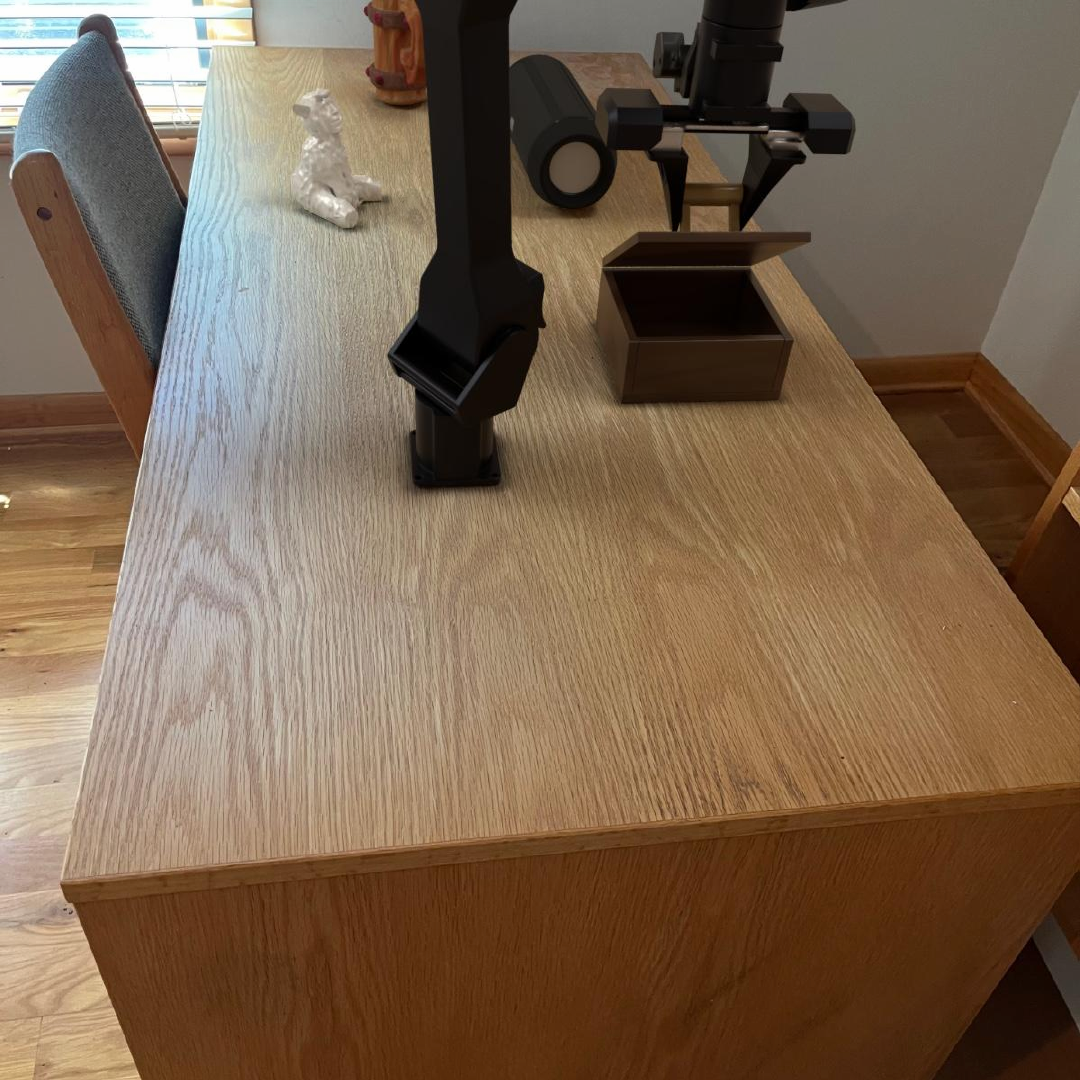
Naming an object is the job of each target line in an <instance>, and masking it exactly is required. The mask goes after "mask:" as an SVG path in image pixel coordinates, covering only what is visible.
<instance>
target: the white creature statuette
mask: <svg viewBox="0 0 1080 1080" xmlns="http://www.w3.org/2000/svg"><path fill="white" fill-rule="evenodd" d="M291 110H292V111H291V112H292V113H293V114H294V115H296V116H298V119H299V120H300V123H301V124H302V126H303V128H304V129H305V131H306V133H308V136H307V138H305V139H304V142H303V143H302V145H301V149H302V150H301V153H300V159H301V160H300V162H299V163H298V166H297V167H296V169H295V171H294V172H292V173H291V177H292V178H291V179H290V183H291V187H292V192H293V195H294V196H295V200H296V201H297V203H298V204H299V205H301V206H302V207H303V209H304V210H306V211H308V213H310V214H314V215H316V216H318V217H319V218H322V219H324V220H326V221H328V222H329V223H331V224H333V225H336V226H338V227H339V228H343V229H350V228H352V229H353V228H354V227H355V226H356V225H357V223H358V221H359V213H358V211H357V209H358V208H360V206H361V204H362V203H364V202H382V201H383V200H382V199H383V197H382V195H383V194H382V181H379V180H376V179H373V178H372V177H369V175H367V174H362V175H361V174H355V175H352V169H351V168H350V164H349V163H348V159H349V157H348V156H347V152H346V151H345V150H346V147H345V145H344V143H343V142H342V139H343V138H342V134H341V133H342V132H343V130H344V129H343V126H342V122H343V116H342V114H341V111H340V109H339V107H338V104H337V102H336V98H335V97H334V96H333V95H331V90H330V89H329V88H322V87H317V88H316V90H315V91H309V92H307V93H305V94H304V95H303V96H301V100H300V101H299V102H295V103H293V105H292V107H291Z"/></svg>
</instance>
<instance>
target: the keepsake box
mask: <svg viewBox="0 0 1080 1080" xmlns="http://www.w3.org/2000/svg"><path fill="white" fill-rule="evenodd" d="M595 328H596V331H597V334H598V338H599V340H600V343H601V346H602V349H603V353H604V355H605V359H606V361H607V362H606V363H607V364H608V368H609V371H610V374H611V377H612V379H613V383H614V385H615V389H616V392H617V395H618V398H619V401H620V403H621V404H640V403H641V404H645V403H683V402H684V403H686V402H688V403H689V402H725V401H726V402H728V401H764V400H765V401H768V400H769V401H770V400H773V401H774V400H779V399H780V396H781V391H782V388H783V384H784V380H785V376H786V372H787V368H788V364H789V360H790V357H791V352H792V348H793V344H794V341H795V339H794V337H793V335H792V334H791V332H790V330H789V328H788V327H787V326H786V324H785V322H784V320H783V319H782V317H781V315H780V314H779V312H778V310H777V309H776V308H775V306H774V304H773V302H772V300H771V299H770V298H769V296H768V294H767V292H766V291H765V289H764V287H763V285H762V284H761V282H760V281H759V279H758V277H757V275H756V274H755V273H754V271H753V269H752V266H729V267H601V271H600V279H599V289H598V299H597V308H596V318H595Z"/></svg>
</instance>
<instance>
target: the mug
mask: <svg viewBox="0 0 1080 1080" xmlns="http://www.w3.org/2000/svg"><path fill="white" fill-rule="evenodd" d="M363 13H364V15H365V16H366V17H367V18H368V20H369V22H370V23H371V24H372V35H373V51H374V52H373V53H374V57H373V58H374V62H372V63H371V64H370V65H369V66H367V68H366V69H365V74H366V76H367V77H368V78H369V80H370V81H369V82H370V83H371V84H372V85H373V86H374V87H375V92H376V95H377V98H378V100H379V101H381V102H382V103H385V104H388V105H392V106H395V105H397V106H405V105H406V106H407V105H409V106H410V105H415V104H419V103H421V102H423V101H425V100H427V88H426V74H425V59H424V45H423V30H422V21H421V16H420V12H419V9H418V7H417V5H416V3H415V1H414V0H371V1H369V2H368V3H367V5H366V6H364V7H363Z"/></svg>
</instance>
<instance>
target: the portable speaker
mask: <svg viewBox="0 0 1080 1080" xmlns="http://www.w3.org/2000/svg"><path fill="white" fill-rule="evenodd" d="M595 118H596V109H595V108H594V105H593V103H592V102H591V101H590V99H589V98H588V96H587V95H586V93H585V91H584V90H583V88H582V87H581V85H580V84H579V82H578V80H577V79H576V78H575V76H574V75H573V73H572V72H571V70H570V69H569V68H568V67H567V66H566V64H565V63H563V62H562V61H561V60H559V59H558V58H556V57H553V56H551V55H549V54H537V53H536V54H530V55H527V56H524V57H521V58H519V59H518V60H516V61H515V62H513V63H512V64H511V65H510V133H511V142H512V144H513V146H514V148H515V151H516V154H517V156H518V158H519V160H520V161H521V162H520V163H521V164H522V166H523V169H524V172H525V173H526V176H527V178H528V181H529V183H530V186H531V188H532V190H533V191H534V193H535V194H536V195H537V196H538V197H539V198H540V199H541V200H542V201H543V202H545V203H546V204H549V205H551V206H552V207H556V208H558V209H564V210H568V211H579V210H583V209H586V208H589V207H591V206H593V205H595V204H597V203H598V202H599V201H601V199H603V198H604V196H605V195H606V194H607V193H608V191H609V190H610V188H611V187H612V184H613V182H614V178H615V175H616V172H617V167H618V150H613V149H610V148H607V147H606V146H605V143H604V141H603V139H602V137H601V135H600V133H599V131H598V129H597V127H596V125H595Z"/></svg>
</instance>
